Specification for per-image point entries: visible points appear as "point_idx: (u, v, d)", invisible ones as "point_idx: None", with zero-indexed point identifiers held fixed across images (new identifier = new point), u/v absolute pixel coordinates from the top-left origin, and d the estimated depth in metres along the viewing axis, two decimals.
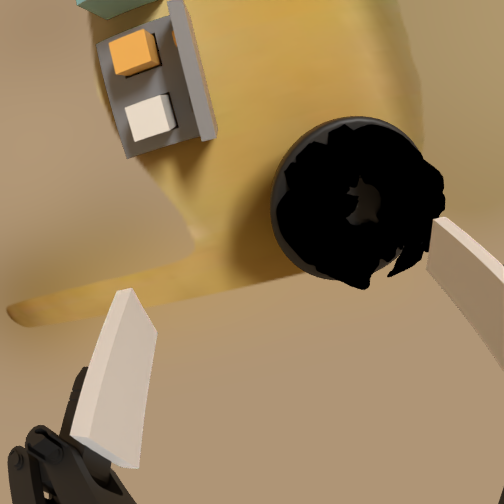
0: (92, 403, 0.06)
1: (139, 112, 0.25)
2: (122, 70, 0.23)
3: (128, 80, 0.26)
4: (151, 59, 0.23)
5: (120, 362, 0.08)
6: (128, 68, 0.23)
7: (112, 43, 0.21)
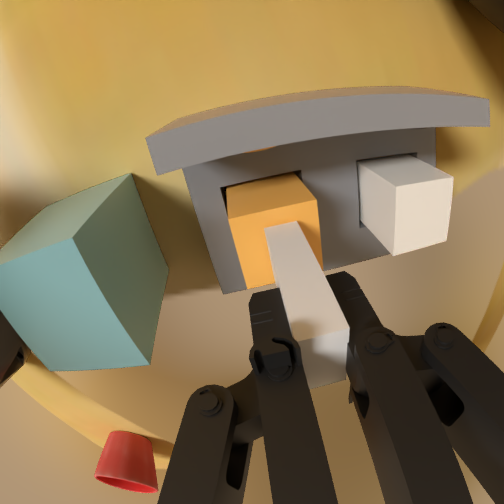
0: (305, 308, 0.08)
1: (410, 230, 0.14)
2: (319, 258, 0.14)
3: None
4: (310, 198, 0.13)
5: None
6: (319, 247, 0.14)
7: (250, 281, 0.14)
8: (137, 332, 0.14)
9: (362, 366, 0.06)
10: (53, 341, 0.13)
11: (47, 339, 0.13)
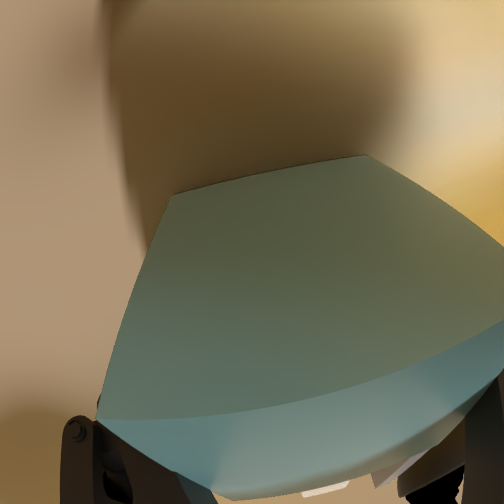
0: None
1: (318, 490, 0.17)
2: None
3: None
4: None
5: None
6: None
7: None
8: None
9: None
10: (295, 459, 0.05)
11: (304, 452, 0.04)
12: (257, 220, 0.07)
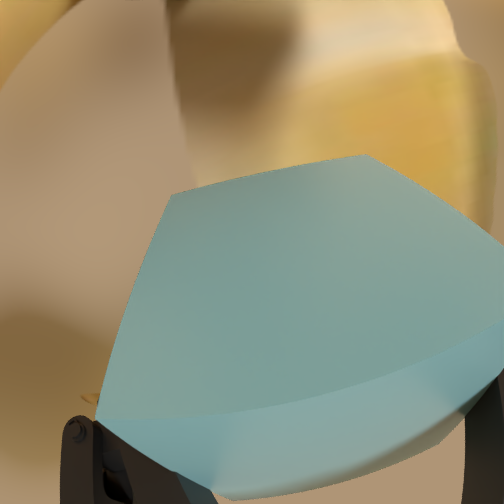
0: None
1: None
2: None
3: None
4: None
5: None
6: None
7: None
8: None
9: None
10: (294, 459, 0.05)
11: (303, 452, 0.04)
12: (257, 219, 0.07)
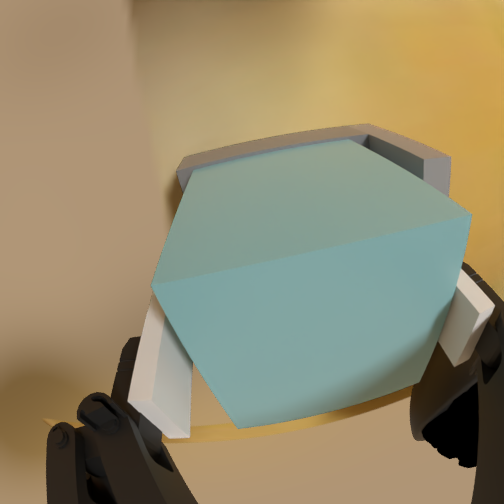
0: (151, 367, 0.07)
1: None
2: None
3: None
4: None
5: (172, 329, 0.09)
6: None
7: None
8: None
9: (503, 330, 0.05)
10: (288, 343, 0.07)
11: (294, 333, 0.07)
12: (261, 180, 0.10)
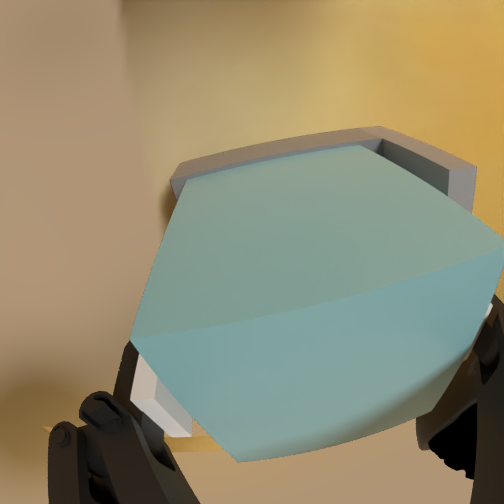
0: None
1: None
2: None
3: None
4: None
5: None
6: None
7: None
8: None
9: (501, 330, 0.05)
10: (295, 393, 0.06)
11: (302, 384, 0.06)
12: (263, 195, 0.09)
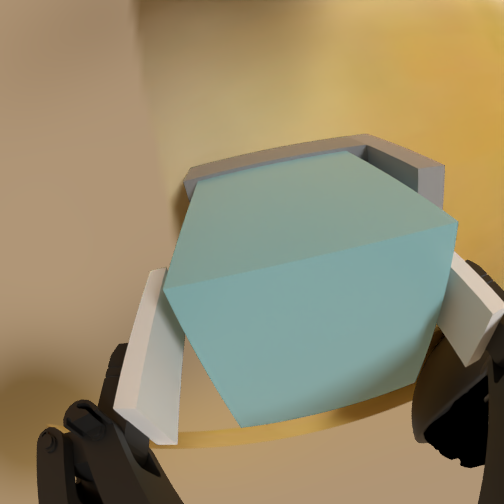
0: (136, 374, 0.07)
1: None
2: None
3: None
4: None
5: (159, 336, 0.09)
6: None
7: None
8: None
9: None
10: (288, 343, 0.08)
11: (293, 333, 0.08)
12: (262, 192, 0.11)
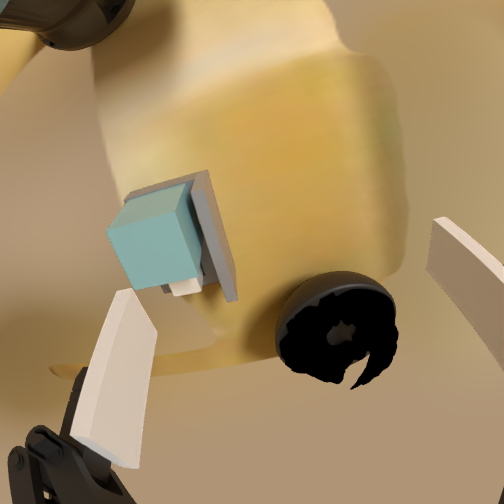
0: (92, 403, 0.06)
1: None
2: None
3: None
4: None
5: (120, 362, 0.08)
6: None
7: None
8: None
9: None
10: (136, 247, 0.29)
11: (137, 244, 0.28)
12: (141, 205, 0.31)
